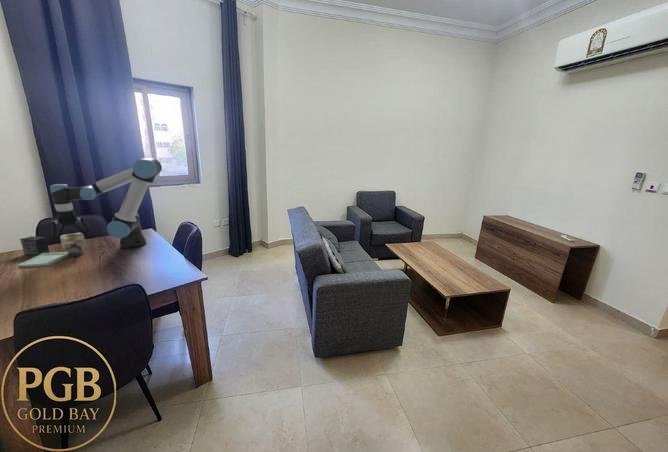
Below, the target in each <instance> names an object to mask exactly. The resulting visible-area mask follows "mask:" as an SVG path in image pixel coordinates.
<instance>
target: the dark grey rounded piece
mask: <svg viewBox="0 0 668 452" xmlns="http://www.w3.org/2000/svg"><path fill="white" fill-rule="evenodd" d="M65 248H66V252H67V253H68V256H67V257H68V258H76V257H77V258H78V257H81V256H83V255H84V253H85V252H84V250H83V245H82V244H80V243H74V244H69V245H66V246H65Z"/></svg>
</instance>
